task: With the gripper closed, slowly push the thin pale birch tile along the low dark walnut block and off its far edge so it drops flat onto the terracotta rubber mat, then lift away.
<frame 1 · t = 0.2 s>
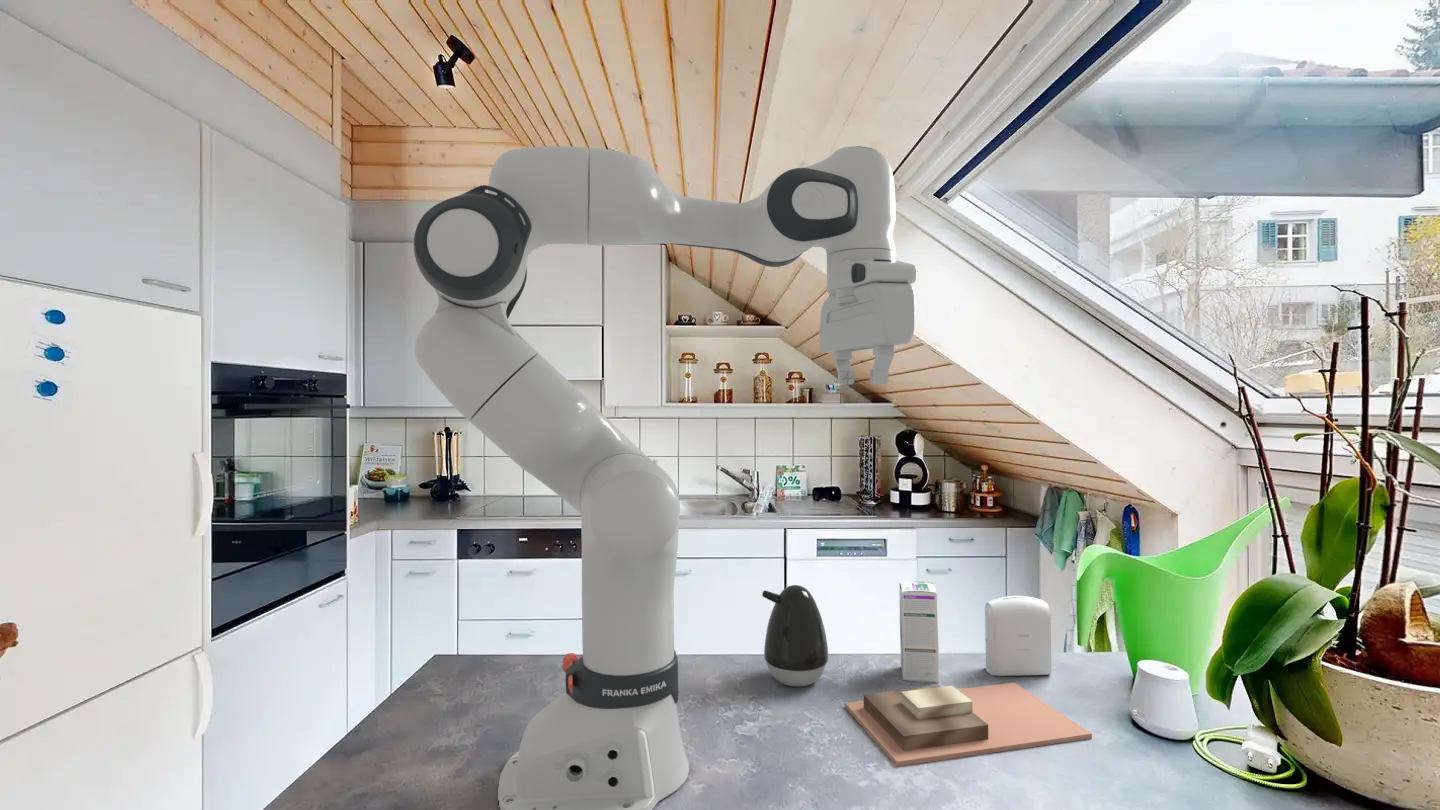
hand: (861, 384, 87), 47 cm above the countertop, tool pointing down, fingers open, 8 cm apart
pump dispenser: (795, 681, 107), on the countertop
walnut block: (922, 726, 92), resting on rubber mat
rubber mat: (962, 721, 93), on the countertop
syrup box: (918, 675, 109), on the countertop
photo printer: (1017, 673, 109), on the countertop
birch tile: (936, 707, 92), point 2 cm above the countertop, touching walnut block
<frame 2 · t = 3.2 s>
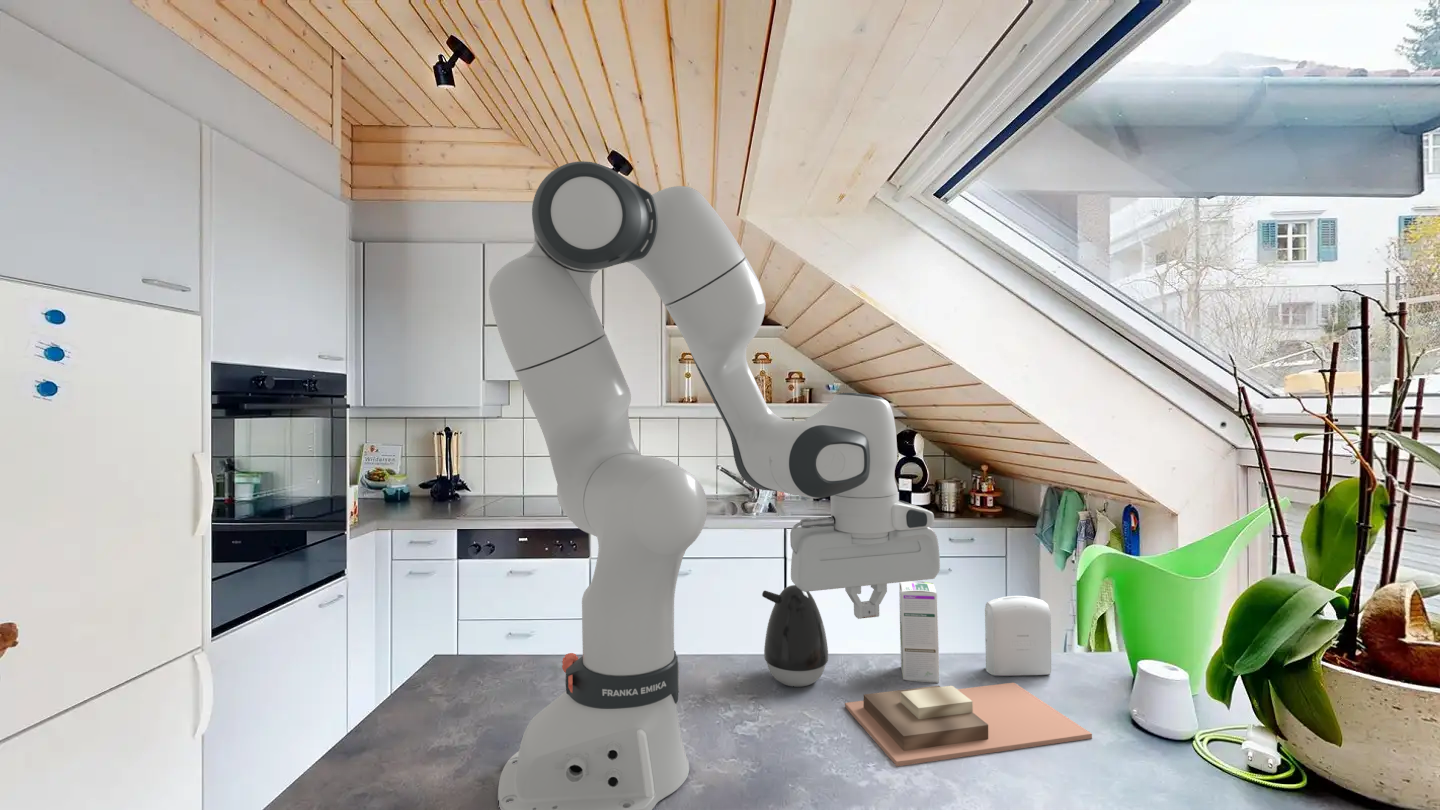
hand: (866, 616, 90), 16 cm above the countertop, tool pointing down, fingers closed
nothing on the countertop moved.
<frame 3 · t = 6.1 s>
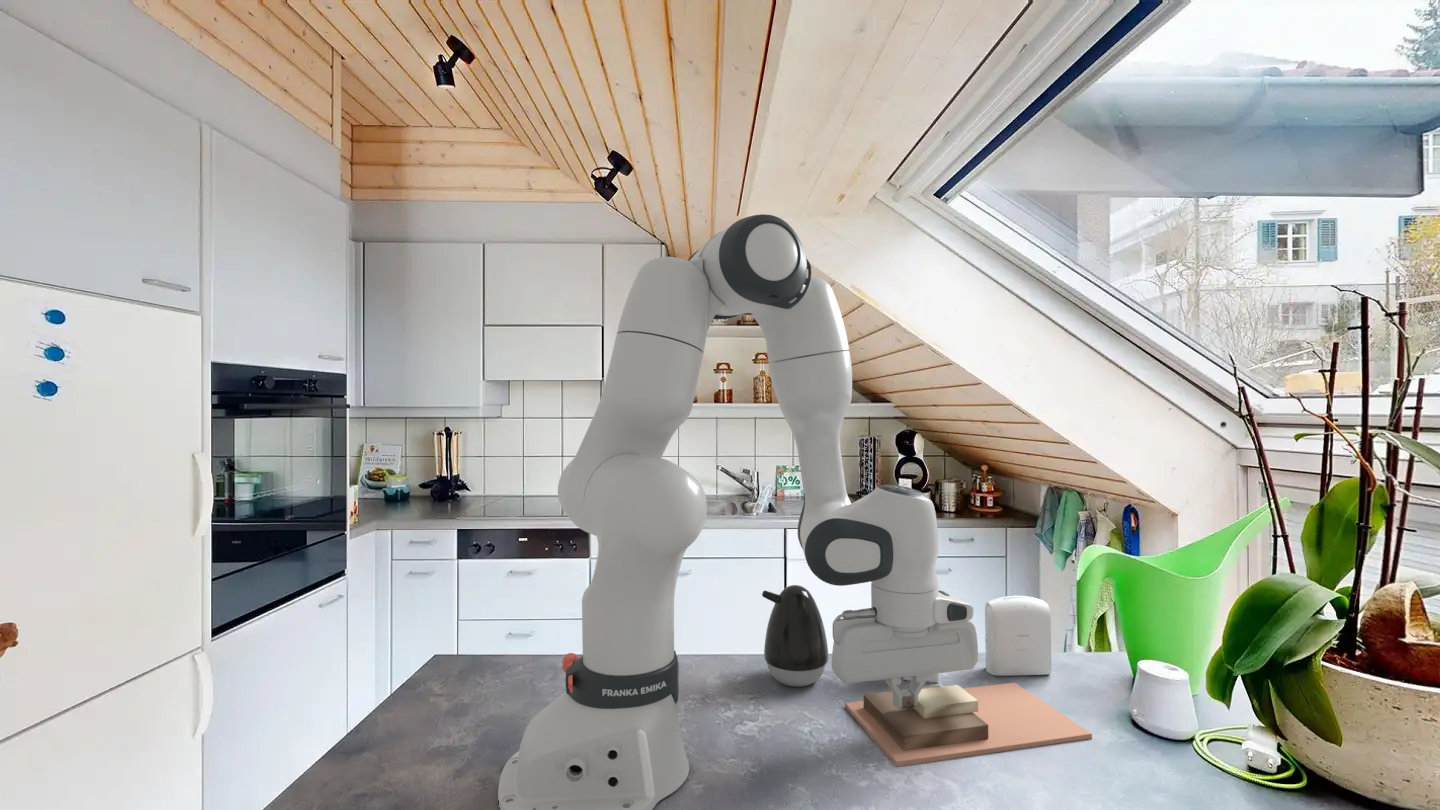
hand: (905, 705, 91), 3 cm above the countertop, tool pointing down, fingers closed
birch tile: (941, 706, 93), point 2 cm above the countertop, touching gripper, walnut block
everything else where it was.
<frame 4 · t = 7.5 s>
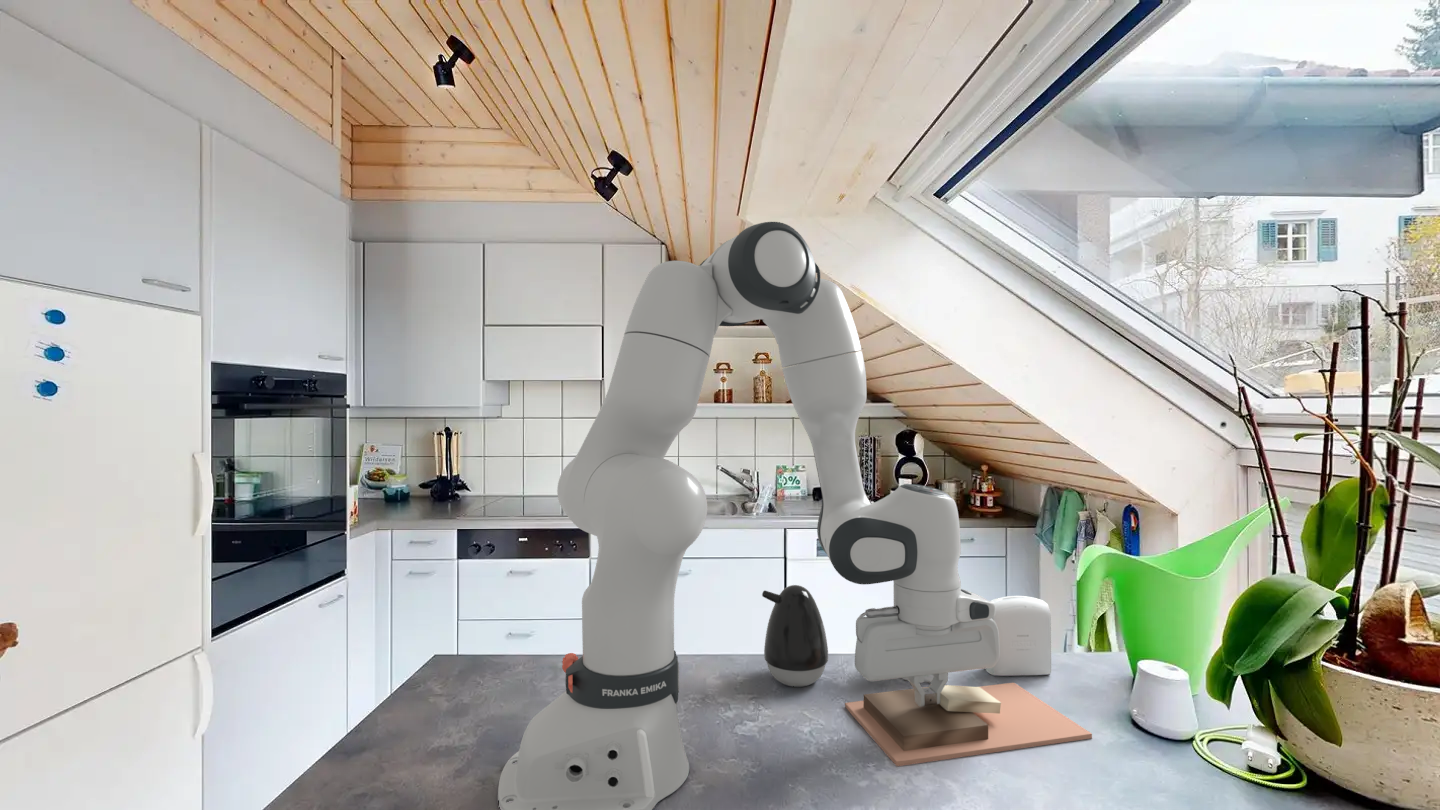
hand: (927, 703, 92), 3 cm above the countertop, tool pointing down, fingers closed
birch tile: (963, 703, 93), point 2 cm above the countertop, tilted 9°, touching walnut block
everything else where it was.
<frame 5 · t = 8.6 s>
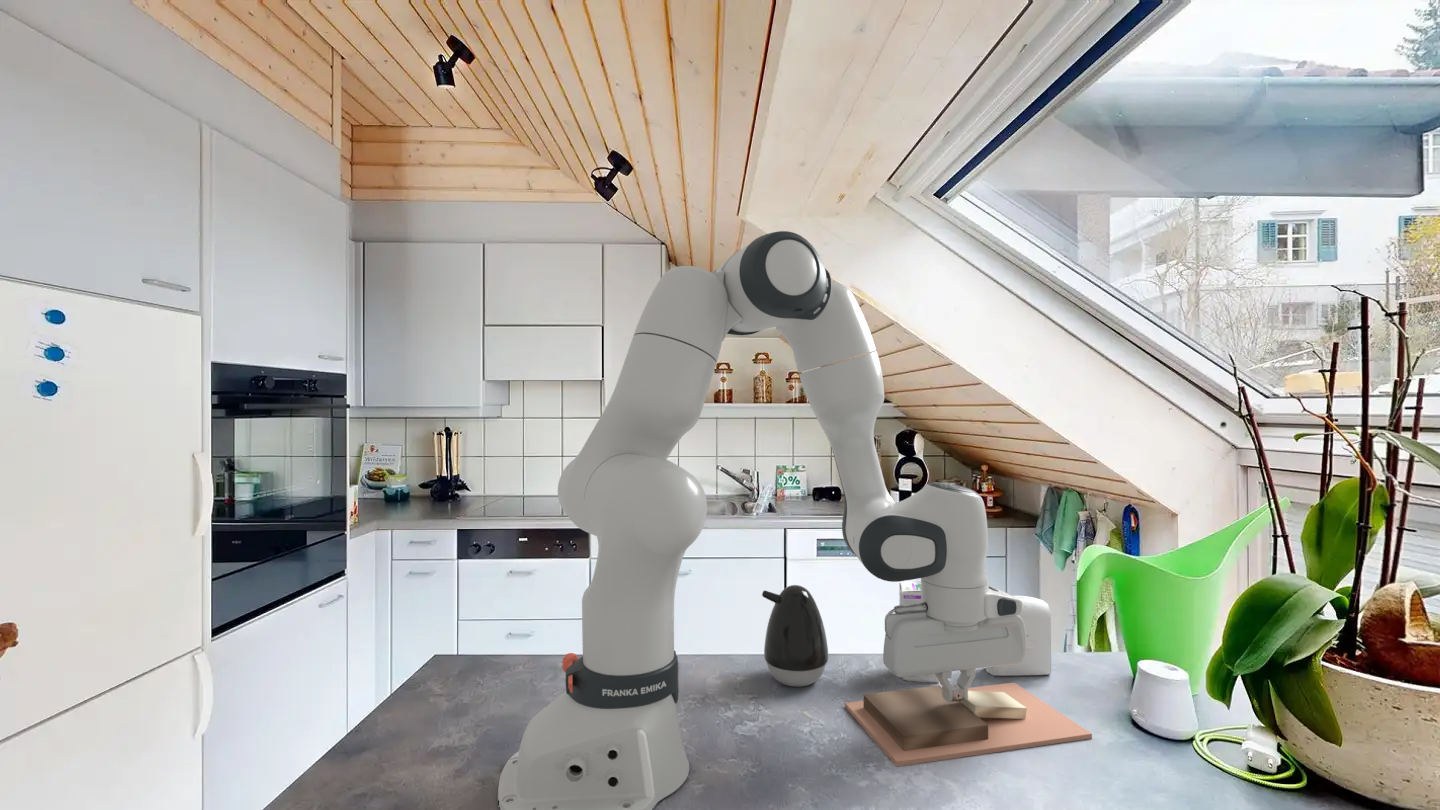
hand: (955, 699, 93), 3 cm above the countertop, tool pointing down, fingers closed
birch tile: (988, 709, 94), point 1 cm above the countertop, tilted 8°
everything else where it was.
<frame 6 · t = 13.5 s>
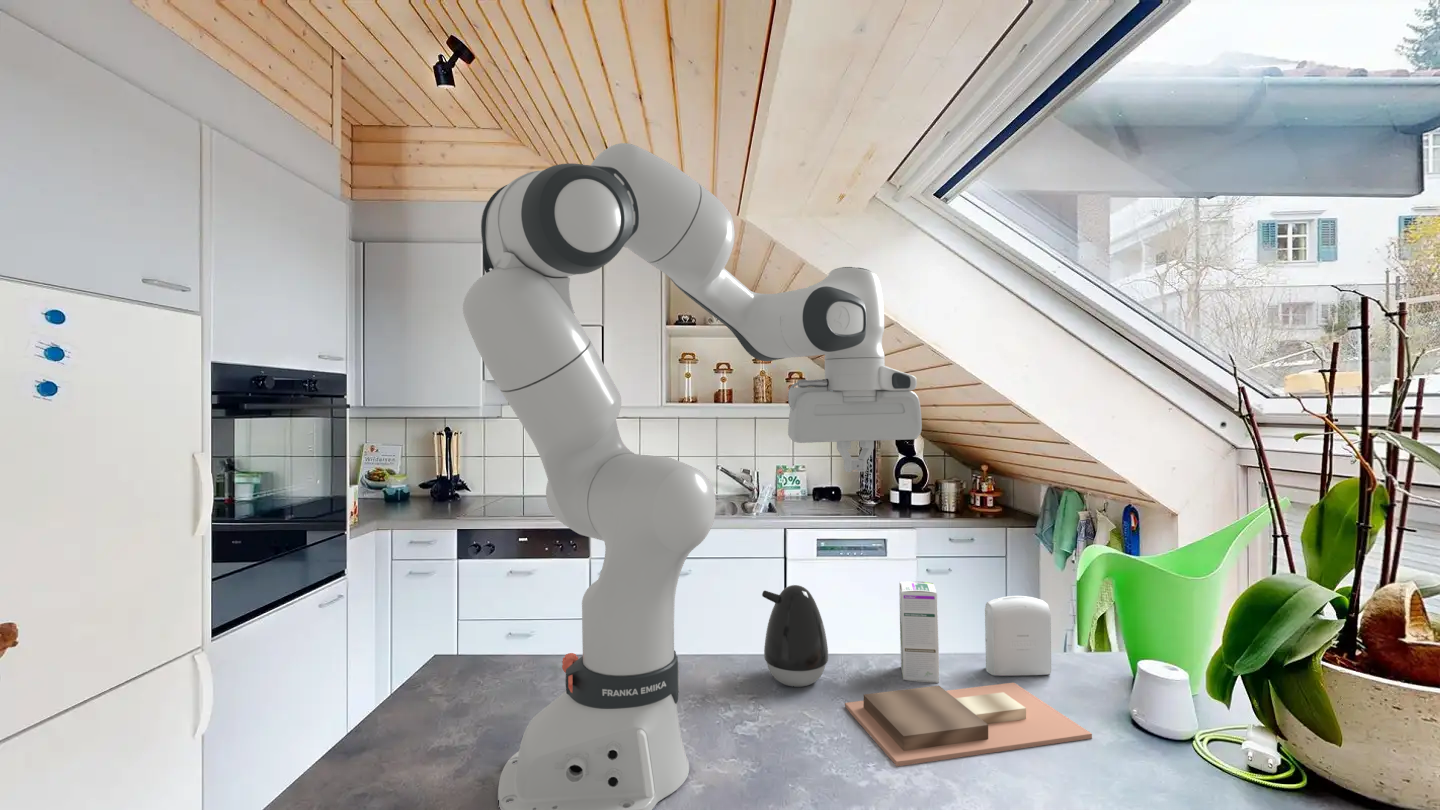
hand: (855, 471, 100), 34 cm above the countertop, tool pointing down, fingers closed
birch tile: (989, 713, 94), point 1 cm above the countertop, touching rubber mat
everything else where it was.
at the end: birch tile inside the target area (1.7 cm from its centre), point 0.6 cm above the countertop; birch tile touching rubber mat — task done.
